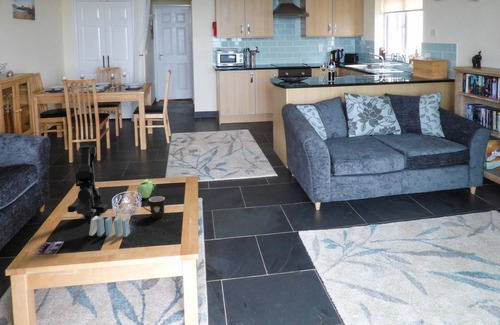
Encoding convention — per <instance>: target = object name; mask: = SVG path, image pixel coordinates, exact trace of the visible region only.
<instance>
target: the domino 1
mask: <svg viewBox="0 0 500 325" xmlns="http://www.w3.org/2000/svg"><path fill="white" fill-rule="evenodd" d="M99 217H100V216H99ZM99 217H98V216H95V217H93V219H92V220H91V224H90V225H89V226H90V227H89V233H88V236H91V237H92V236H94V235H95V234H96V233H97V225H96V220H97V219H98V218H99Z"/></svg>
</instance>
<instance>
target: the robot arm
mask: <svg viewBox="0 0 500 325" xmlns="http://www.w3.org/2000/svg"><path fill="white" fill-rule="evenodd" d="M77 150H78V155H79V156H80V166H79V167H77V170H76V171H77V172H75V187H79V189H78V192H77V199H78V201H79V202H77V203H76V202H72V203H71V204H70V205H68V207H67V212H68V213H74V212H75V211H76V212H75V213H77V215H82V216H83V217H84V219H85V221H86V222H87V224H88V226H91V220H92V219H93V218H94V217H95V216H98V217H100V216H102V214H104V213H106V212H107V211H108V210H109V205H108V204H107V203H103V198H102V196H101V194H100V192H99V190H98V188H97V187H96V181H95V180H96V179H95V169H94V161H95V158H96V154H97V147H95V146H94V145H82V146H80V147H77Z"/></svg>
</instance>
